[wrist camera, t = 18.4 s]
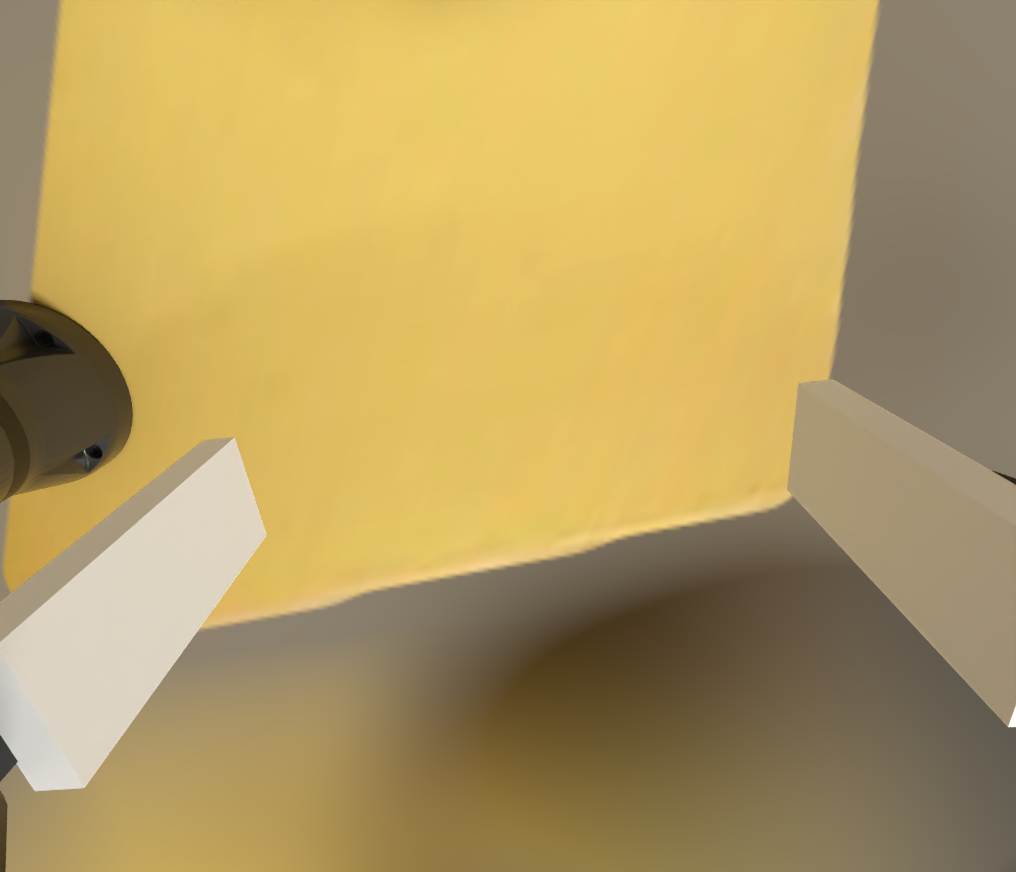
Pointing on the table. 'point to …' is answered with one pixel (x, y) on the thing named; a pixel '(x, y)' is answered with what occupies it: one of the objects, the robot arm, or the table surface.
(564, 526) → the table surface
